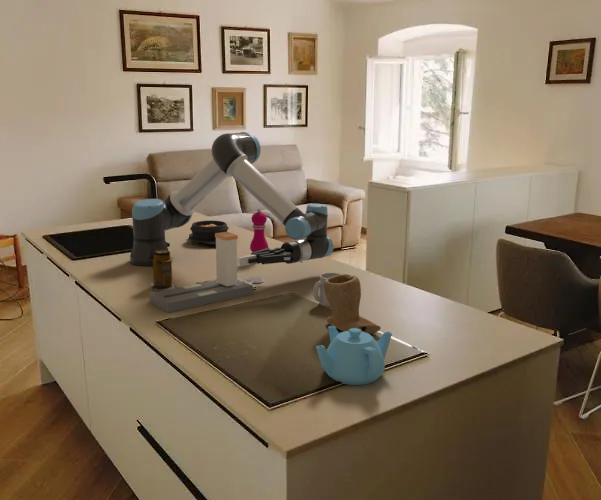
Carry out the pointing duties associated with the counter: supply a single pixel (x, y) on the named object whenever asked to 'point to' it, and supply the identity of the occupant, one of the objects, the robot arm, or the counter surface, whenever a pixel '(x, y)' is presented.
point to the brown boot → (346, 304)
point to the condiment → (162, 271)
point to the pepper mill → (258, 232)
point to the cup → (322, 289)
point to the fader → (226, 258)
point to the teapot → (354, 356)
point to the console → (198, 295)
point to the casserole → (206, 231)
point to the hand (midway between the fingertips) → (238, 261)
